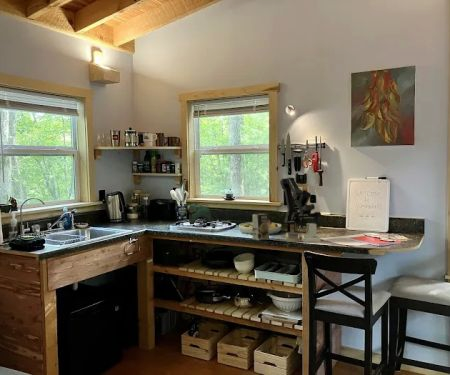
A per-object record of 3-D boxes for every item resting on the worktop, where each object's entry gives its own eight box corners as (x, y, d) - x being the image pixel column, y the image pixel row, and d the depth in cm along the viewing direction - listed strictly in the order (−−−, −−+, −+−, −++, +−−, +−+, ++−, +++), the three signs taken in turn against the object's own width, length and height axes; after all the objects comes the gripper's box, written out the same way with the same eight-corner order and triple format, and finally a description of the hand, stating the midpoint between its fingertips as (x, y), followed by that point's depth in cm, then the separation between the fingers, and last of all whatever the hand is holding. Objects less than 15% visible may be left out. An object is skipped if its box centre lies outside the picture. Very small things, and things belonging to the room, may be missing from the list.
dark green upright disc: (189, 227, 320) (189, 201, 319) (186, 225, 326) (185, 200, 325) (212, 224, 330) (212, 199, 329) (208, 223, 336) (208, 199, 334)
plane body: (285, 236, 276) (285, 224, 276) (298, 236, 275) (298, 224, 275) (286, 241, 258) (286, 228, 257) (299, 241, 257) (299, 228, 256)
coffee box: (258, 240, 263) (258, 215, 262) (252, 239, 268) (252, 214, 267) (269, 238, 268) (269, 213, 267) (262, 237, 273) (262, 212, 272)
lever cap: (306, 239, 263) (306, 223, 262) (313, 238, 264) (313, 223, 263) (308, 240, 259) (308, 224, 258) (316, 239, 260) (316, 224, 259)
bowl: (280, 236, 278) (279, 224, 278) (235, 235, 284) (235, 223, 284) (282, 229, 308) (282, 218, 307) (242, 228, 314) (242, 217, 313)
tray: (302, 238, 267) (302, 235, 267) (319, 238, 266) (319, 235, 266) (303, 241, 257) (303, 238, 257) (320, 241, 256) (320, 238, 255)
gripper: (292, 200, 266) (299, 220, 256) (320, 199, 269) (327, 218, 259) (288, 211, 274) (294, 230, 264) (315, 210, 278) (322, 229, 268)
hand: (309, 227), depth 263 cm, fingers open, 9 cm apart
